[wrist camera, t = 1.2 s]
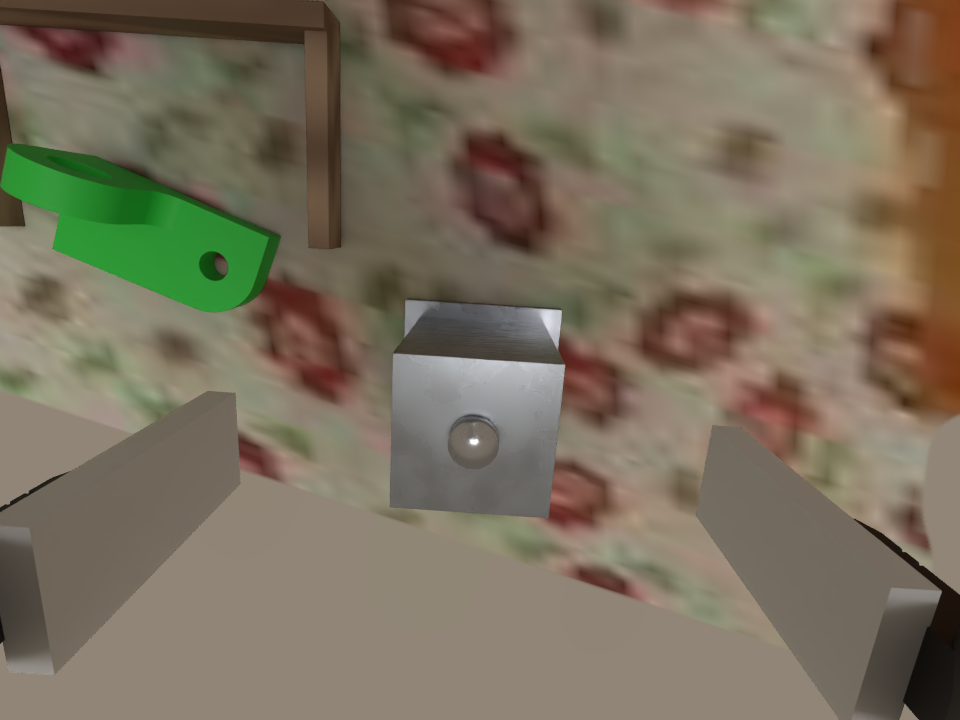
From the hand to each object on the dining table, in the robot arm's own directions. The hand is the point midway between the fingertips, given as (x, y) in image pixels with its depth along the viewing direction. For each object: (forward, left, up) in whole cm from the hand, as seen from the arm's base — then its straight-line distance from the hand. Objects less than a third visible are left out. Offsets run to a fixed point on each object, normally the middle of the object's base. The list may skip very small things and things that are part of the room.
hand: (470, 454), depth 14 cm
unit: (+4, 0, -21) cm, 21 cm away
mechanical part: (-4, -20, -21) cm, 29 cm away
